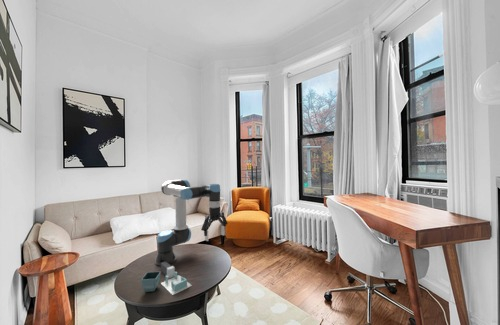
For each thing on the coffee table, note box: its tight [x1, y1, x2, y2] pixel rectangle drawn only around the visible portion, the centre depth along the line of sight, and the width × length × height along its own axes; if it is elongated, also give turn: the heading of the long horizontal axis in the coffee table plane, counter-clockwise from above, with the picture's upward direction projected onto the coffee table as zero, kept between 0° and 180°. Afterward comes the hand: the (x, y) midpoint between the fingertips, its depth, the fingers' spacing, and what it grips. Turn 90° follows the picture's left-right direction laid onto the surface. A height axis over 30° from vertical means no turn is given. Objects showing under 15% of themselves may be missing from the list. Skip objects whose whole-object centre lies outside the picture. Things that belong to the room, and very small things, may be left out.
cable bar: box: [160, 261, 176, 279], centre depth 149 cm, size 14×4×6 cm, turn 46°
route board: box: [160, 271, 193, 296], centre depth 135 cm, size 17×13×4 cm
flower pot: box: [140, 271, 162, 293], centre depth 131 cm, size 9×9×9 cm
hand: (215, 237), depth 142 cm, fingers open, 13 cm apart
